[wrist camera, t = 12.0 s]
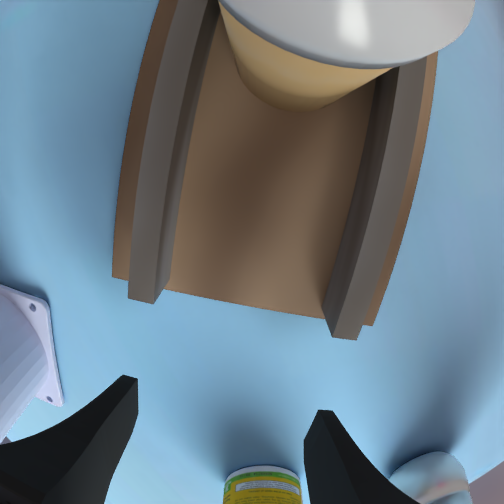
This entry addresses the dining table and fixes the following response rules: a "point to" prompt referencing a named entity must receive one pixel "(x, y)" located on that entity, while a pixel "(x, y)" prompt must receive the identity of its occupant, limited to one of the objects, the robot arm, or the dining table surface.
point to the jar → (332, 43)
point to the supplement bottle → (262, 486)
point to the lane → (263, 181)
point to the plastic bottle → (433, 479)
